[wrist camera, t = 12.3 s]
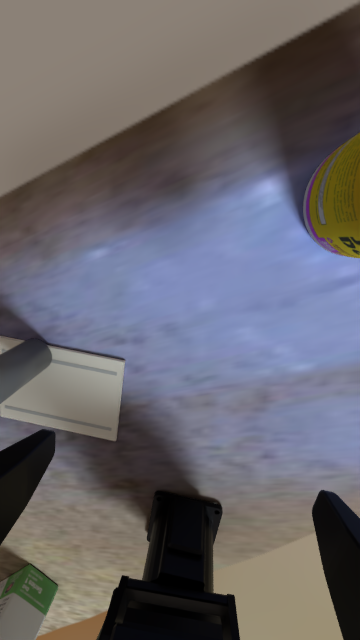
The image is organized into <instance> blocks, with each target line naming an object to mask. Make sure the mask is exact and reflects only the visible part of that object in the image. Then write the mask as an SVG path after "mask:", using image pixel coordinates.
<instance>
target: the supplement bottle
mask: <svg viewBox="0 0 360 640" xmlns="http://www.w3.org/2000/svg"><path fill="white" fill-rule="evenodd" d="M303 216H304V221H305V225H306V228H307V230H308V232H309V234H310V236H311V237H312V238H313V240H314V241H315V242H316V243H317V244H318V245H319V246H320V247H322V248H323V249H325V250H327V251H329V252H331V253H334V254H336V255H341V256H347V257H354V258H360V133H358V134H357V135H355V136H354V137H352V138H351V139H350V140H348V141H347V142H345V143H344V144H342V145H341V146H340V147H338V148H337V149H336V150H334V151H333V152H332V153H331V154H330V155H328V156H327V157H326V158H325V159H324V160H323V161H322V163H321V164H320V165H319V166H318V168H317V169H316V171H315V172H314V174H313V175H312V177H311V179H310V181H309V183H308V186H307V188H306V192H305V196H304V202H303Z"/></svg>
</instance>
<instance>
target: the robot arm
mask: <svg viewBox="0 0 360 640" xmlns="http://www.w3.org/2000/svg"><path fill="white" fill-rule="evenodd" d="M54 453H55V432H54V431H51V430H47V429H42V430H40V431H38V432H36V433H34V434H32V435H30V436H28V437H26V438H24V439H23V440H21V441H19V442H17V443H15V444H13V445H11V446H9V447H7V448H6V449H4V450H2V451H0V545H1V544H2V542H3V541H4V539H5V538H6V536H7V535H8V533H9V531H10V530H11V528H12V527H13V525H14V524H15V522H16V521H17V519H18V518H19V516H20V515H21V513H22V512H23V510H24V509H25V507H26V506H27V504H28V502H29V500H30V499H31V497H32V495H33V493H34V491H35V490H36V488H37V486H38V484H39V482H40V480H41V478H42V477H43V475H44V473H45V471H46V469H47V467H48V465H49V464H50V462H51V460H52V458H53V456H54ZM221 517H222V506H220V505H218V504H214V503H210V502H206V501H201V500H197V499H192V498H188V497H183V496H179V495H175V494H170V493H166V492H161V491H157V492H155V495H154V500H153V505H152V511H151V517H150V523H149V529H148V534H147V540H148V541H149V542H150V543H149V548H148V553H147V558H146V563H145V568H144V573H143V578H142V580H137V579H131V578H129V576H124V575H122V577H121V580H120V583H119V586H118V588H117V587H116V589H114V591H113V595H112V598H111V602H110V606H109V609H108V612H107V616H106V619H105V621H104V624H103V626H102V628H101V630H100V633H99V635H98V637H97V639H96V640H240V637H239V629H238V621H237V614H236V605H235V597H234V595H231V594H227V595H222V594H216V593H213V544H214V541H215V537H216V534H217V530H218V527H219V524H220V520H221ZM312 517H313V522H314V526H315V531H316V536H317V541H318V546H319V551H320V556H321V561H322V565H323V570H324V574H325V577H326V581H327V585H328V588H329V592H330V595H331V599H332V602H333V605H334V609H335V612H336V616H337V619H338V622H339V626H340V629H341V632H342V636H343V639H344V640H360V518H359V517H358V516H357V515H356V514H355V513H354V512H353V511H352V510H351V509H350V508H349V507H348V506H347V505H346V504H345V503H344V502H343V501H342V499H341V498H340V497H339V496H338V495H337V494H335V493H333V492H330V491H325V490H321V491H320V492H319V494H318V496H317V498H316V501H315V503H314V505H313V508H312Z"/></svg>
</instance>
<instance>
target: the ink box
mask: <svg viewBox="0 0 360 640" xmlns="http://www.w3.org/2000/svg"><path fill="white" fill-rule="evenodd" d="M57 590H58V586H57V585H56V584H55V583H53V582H52V581H51V580H49V579H48V578H47V577H46V576H44V575H43V574H42V573H41V572H39V571H38V570H37V569H35V568H34V567H33V566H32V565H30V564H29V565H27V566H26V567H24V568H23V569H21V570H19V571H18V572H16V573H14V574H13V575H11V576H10V577H8V578H6V579H5V580H3V581H1V582H0V640H36V638H37V635H38V633H39V631H40V628H41V626H42V624H43V622H44V619H45V617H46V615H47V612H48V610H49V608H50V606H51V603H52V601H53V599H54V596H55V594H56V592H57Z"/></svg>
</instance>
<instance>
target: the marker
mask: <svg viewBox="0 0 360 640" xmlns="http://www.w3.org/2000/svg"><path fill="white" fill-rule="evenodd" d="M51 360H52V354H51V351H50V349H49V347H48V346H47V345H46V344H45V343H44V342H42V341H40V340H37V339H28V340H26V341H24V342H22V343H20V344H19V345H17V346H15V347H13V348H11V349H9V350H7V351H6V352H4V353H2V354H0V404H1V403H2V402H4V401H5V400H6V399H7V398H9V397H10V396H11V395H12V394H14V393H15V392H16V391H18V390H19V389H20V388H21V387H23V386H24V385H25V384H27V383H28V382H29V381H30V380H32V379H33V378H34V377H36V376H37V375H38V374H39V373H41V372H42V371H43V370H45V369H46V368H47V367H48V366H49V365H50V364H51Z"/></svg>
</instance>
